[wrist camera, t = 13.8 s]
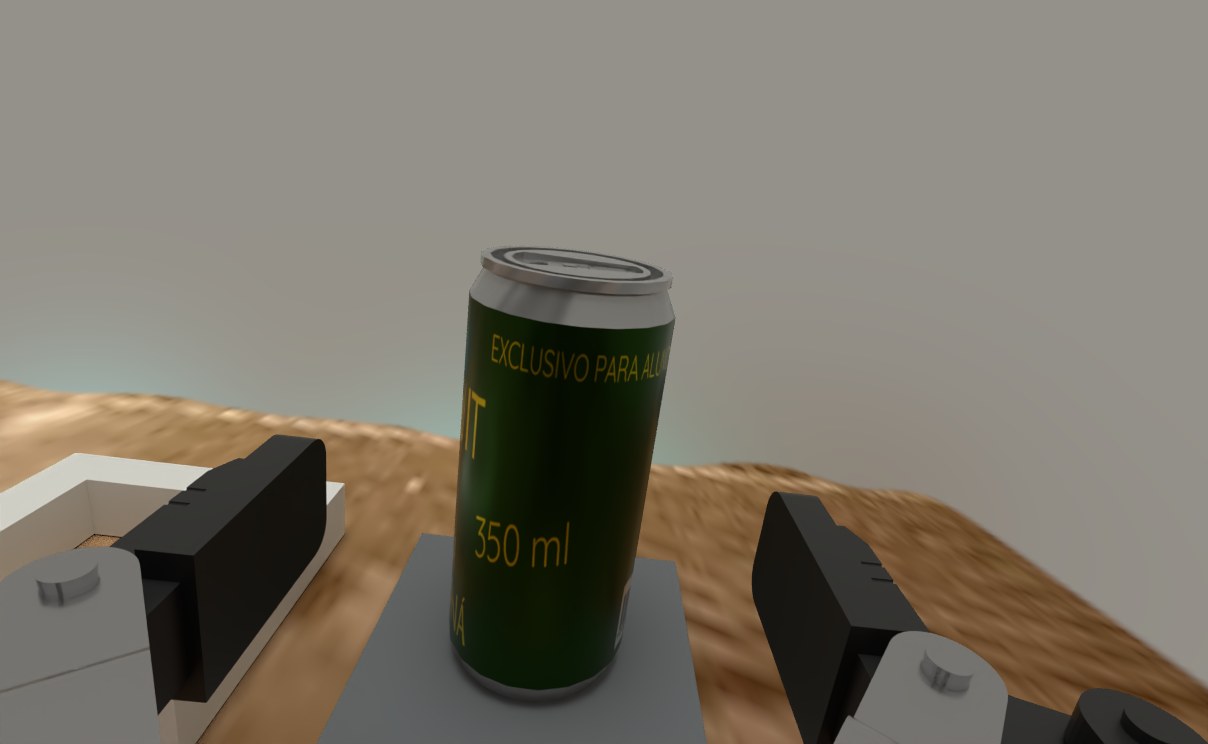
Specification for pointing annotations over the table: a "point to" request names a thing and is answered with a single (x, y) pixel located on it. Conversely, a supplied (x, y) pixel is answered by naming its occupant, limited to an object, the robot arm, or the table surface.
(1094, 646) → the table surface
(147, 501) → the collar
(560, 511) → the beer can
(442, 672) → the mat
